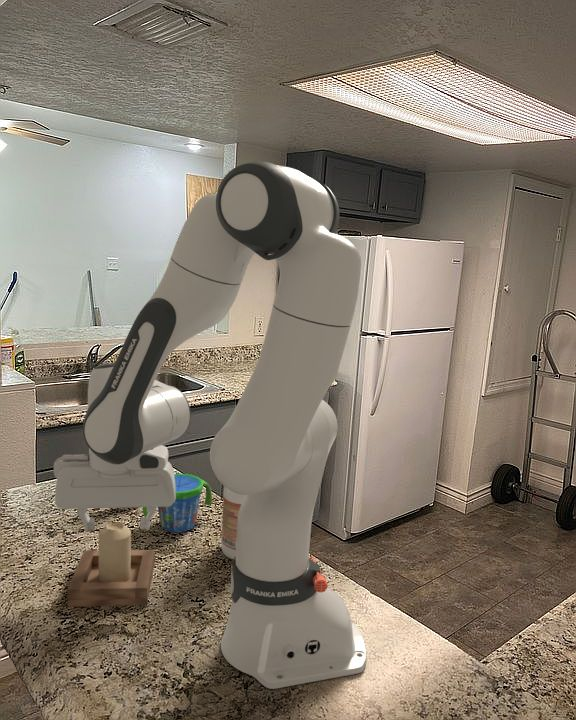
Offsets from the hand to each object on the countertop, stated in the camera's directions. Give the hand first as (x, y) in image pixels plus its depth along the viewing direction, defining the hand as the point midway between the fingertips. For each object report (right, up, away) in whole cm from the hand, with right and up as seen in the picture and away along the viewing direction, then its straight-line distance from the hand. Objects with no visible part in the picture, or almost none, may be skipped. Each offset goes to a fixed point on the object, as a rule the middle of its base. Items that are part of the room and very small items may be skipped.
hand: (117, 529), depth 105 cm
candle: (-1, -10, +2) cm, 10 cm away
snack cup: (+6, -7, +26) cm, 28 cm away
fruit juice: (+21, -9, +17) cm, 29 cm away
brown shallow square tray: (-1, -11, +2) cm, 11 cm away
